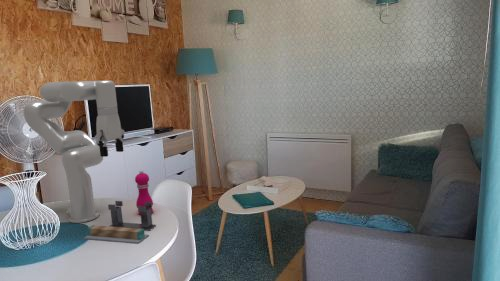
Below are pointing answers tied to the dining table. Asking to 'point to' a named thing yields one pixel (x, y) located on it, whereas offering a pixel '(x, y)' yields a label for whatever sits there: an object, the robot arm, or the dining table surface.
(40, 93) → the robot arm
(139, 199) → the pepper mill
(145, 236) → the mat
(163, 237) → the dining table surface
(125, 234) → the rail
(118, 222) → the bracket
